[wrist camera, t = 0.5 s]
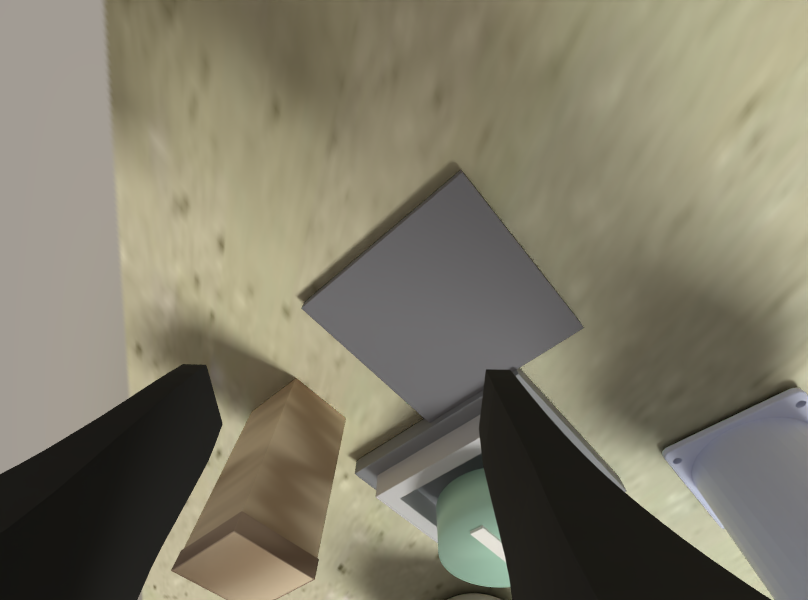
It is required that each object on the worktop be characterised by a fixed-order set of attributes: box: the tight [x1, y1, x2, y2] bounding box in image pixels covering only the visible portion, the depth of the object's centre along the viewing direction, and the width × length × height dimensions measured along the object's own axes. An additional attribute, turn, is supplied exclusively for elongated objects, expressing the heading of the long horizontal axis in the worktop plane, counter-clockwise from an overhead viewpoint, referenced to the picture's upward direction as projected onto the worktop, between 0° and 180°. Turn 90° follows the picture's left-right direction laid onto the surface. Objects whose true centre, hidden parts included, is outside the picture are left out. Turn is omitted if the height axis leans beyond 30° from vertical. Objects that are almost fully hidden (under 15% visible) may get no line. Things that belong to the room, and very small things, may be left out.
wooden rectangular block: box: [171, 378, 346, 600], centre depth 21 cm, size 4×4×9 cm
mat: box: [302, 170, 584, 423], centre depth 21 cm, size 10×10×1 cm
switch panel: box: [355, 368, 626, 543], centre depth 25 cm, size 12×12×2 cm
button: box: [436, 468, 510, 588], centre depth 23 cm, size 7×7×3 cm
